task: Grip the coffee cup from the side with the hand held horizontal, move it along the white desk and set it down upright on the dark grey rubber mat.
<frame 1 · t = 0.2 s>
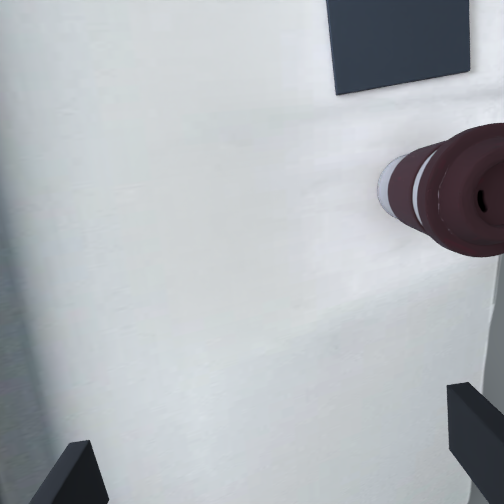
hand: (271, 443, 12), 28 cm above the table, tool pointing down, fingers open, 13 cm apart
coffee cup: (406, 187, 38), on the table
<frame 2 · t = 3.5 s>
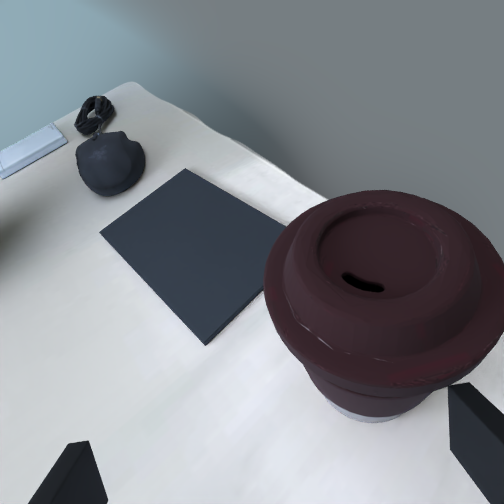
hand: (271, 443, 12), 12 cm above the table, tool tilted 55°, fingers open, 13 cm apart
mat: (194, 238, 37), on the table
hard drive: (33, 153, 61), on the table
computer mouse: (110, 145, 56), on the table
coffee cup: (364, 371, 25), on the table, touching gripper
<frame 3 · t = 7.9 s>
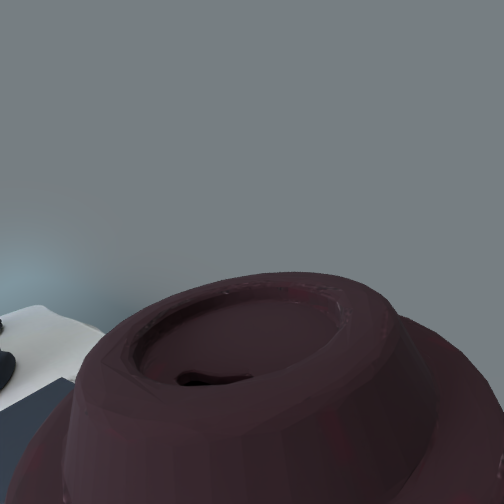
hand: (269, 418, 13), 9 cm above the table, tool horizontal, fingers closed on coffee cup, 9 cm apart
mat: (36, 473, 24), on the table
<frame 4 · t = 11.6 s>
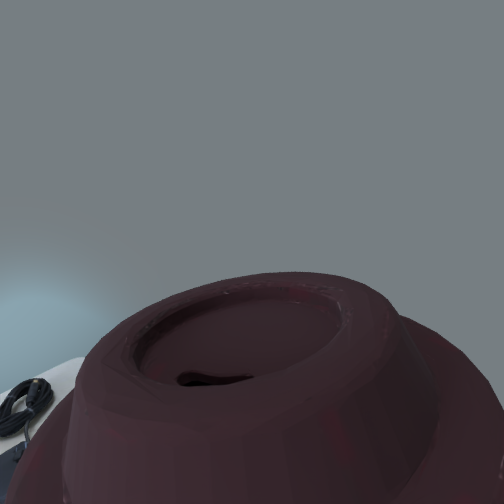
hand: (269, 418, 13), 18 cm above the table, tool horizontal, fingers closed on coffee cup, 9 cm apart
computer mouse: (36, 454, 39), on the table
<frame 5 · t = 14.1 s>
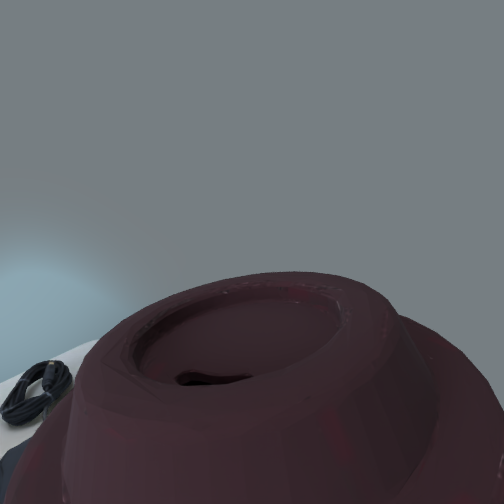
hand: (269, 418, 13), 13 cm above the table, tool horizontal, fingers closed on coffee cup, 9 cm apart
computer mouse: (59, 445, 33), on the table
when the fingers open (9 cm above the table, at t = 15.7 s): coffee cup stays where it is, resting on mat.
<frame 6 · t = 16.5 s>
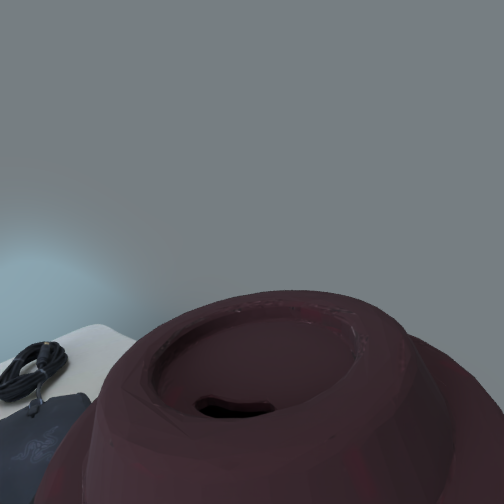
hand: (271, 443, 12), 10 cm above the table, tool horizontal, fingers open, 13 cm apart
computer mouse: (52, 419, 32), on the table
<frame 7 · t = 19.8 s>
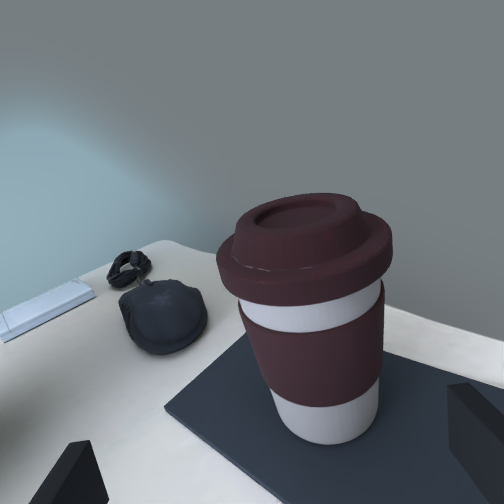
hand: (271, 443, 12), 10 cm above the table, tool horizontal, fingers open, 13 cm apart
mat: (324, 407, 25), on the table
hard drive: (48, 311, 50), on the table
computer mouse: (152, 297, 47), on the table
coffee cup: (326, 403, 24), resting on mat
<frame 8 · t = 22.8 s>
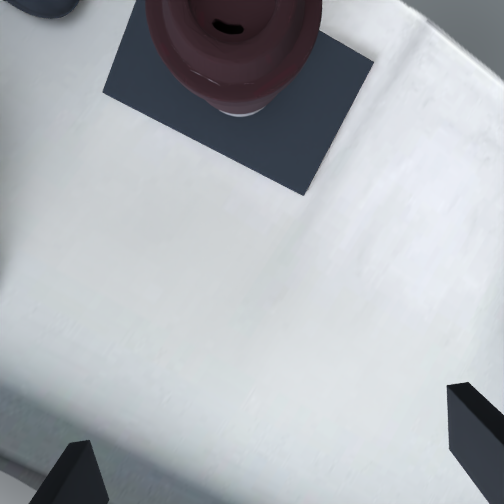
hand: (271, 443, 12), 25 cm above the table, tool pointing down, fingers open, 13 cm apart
mat: (237, 78, 32), on the table
coffee cup: (239, 77, 32), resting on mat
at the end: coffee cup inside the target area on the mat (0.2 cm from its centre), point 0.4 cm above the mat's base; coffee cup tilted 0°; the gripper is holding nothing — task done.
